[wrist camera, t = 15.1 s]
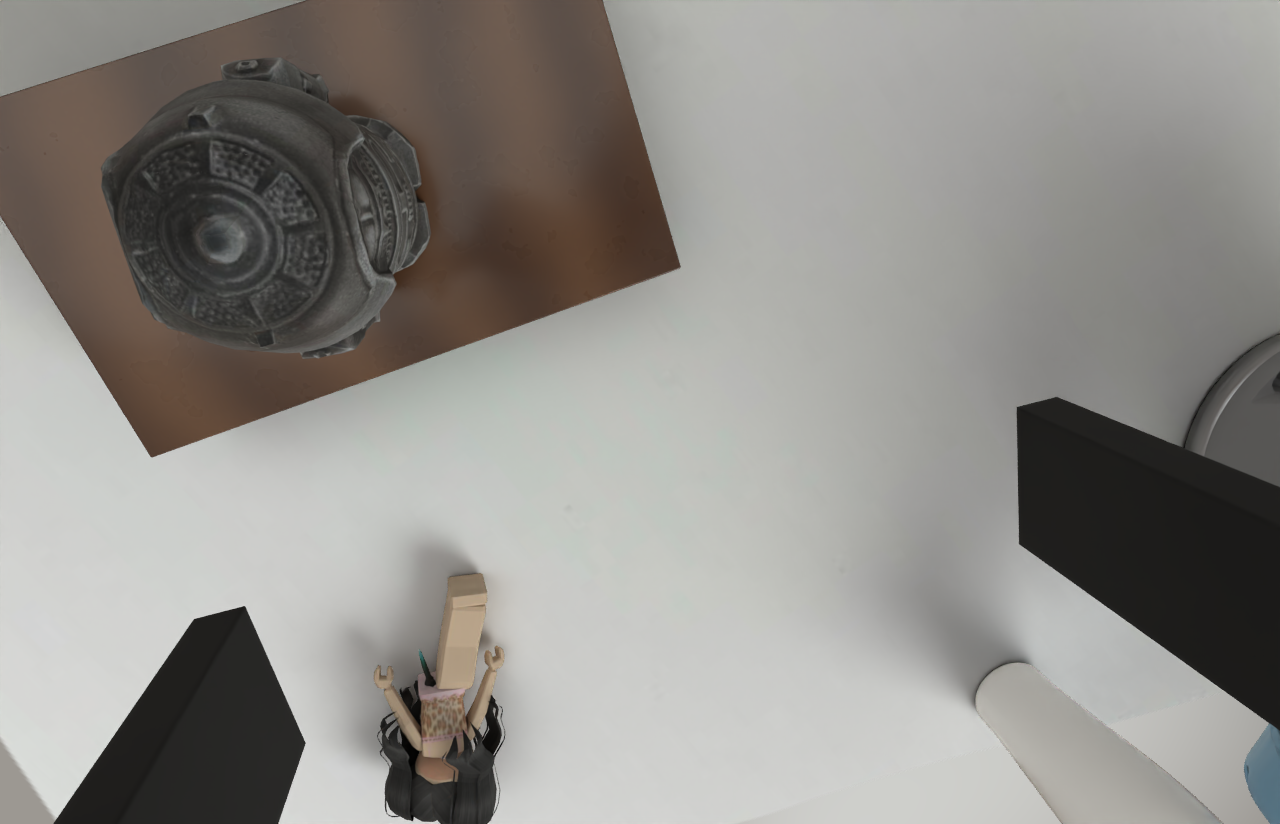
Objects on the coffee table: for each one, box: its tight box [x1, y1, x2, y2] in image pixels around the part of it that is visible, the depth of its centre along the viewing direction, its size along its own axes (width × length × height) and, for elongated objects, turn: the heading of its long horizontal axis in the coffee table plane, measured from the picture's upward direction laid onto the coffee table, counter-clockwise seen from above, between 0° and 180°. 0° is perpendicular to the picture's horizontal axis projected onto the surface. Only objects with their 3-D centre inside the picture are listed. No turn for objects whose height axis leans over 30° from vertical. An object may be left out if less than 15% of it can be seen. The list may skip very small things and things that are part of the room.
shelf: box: [0, 0, 681, 457], centre depth 32 cm, size 24×14×6 cm, turn 108°
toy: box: [101, 58, 431, 359], centre depth 22 cm, size 8×6×15 cm
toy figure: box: [374, 573, 505, 824], centre depth 41 cm, size 7×6×15 cm
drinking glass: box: [975, 663, 1223, 824], centre depth 46 cm, size 7×7×15 cm
